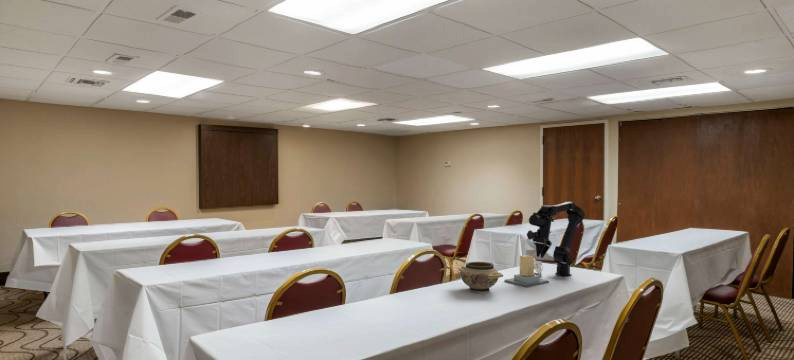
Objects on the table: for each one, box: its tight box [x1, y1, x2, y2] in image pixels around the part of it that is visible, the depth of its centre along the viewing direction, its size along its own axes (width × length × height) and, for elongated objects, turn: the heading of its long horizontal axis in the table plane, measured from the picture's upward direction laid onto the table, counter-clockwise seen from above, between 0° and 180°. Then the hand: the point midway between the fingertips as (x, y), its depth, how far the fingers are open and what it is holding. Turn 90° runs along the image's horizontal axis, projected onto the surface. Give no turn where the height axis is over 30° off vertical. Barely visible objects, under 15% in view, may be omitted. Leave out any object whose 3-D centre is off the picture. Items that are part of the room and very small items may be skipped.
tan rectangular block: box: [519, 254, 535, 277], centre depth 237 cm, size 5×5×12 cm
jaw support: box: [534, 258, 544, 277], centre depth 256 cm, size 12×9×10 cm
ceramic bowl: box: [457, 261, 504, 294], centre depth 219 cm, size 24×18×15 cm
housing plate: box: [504, 273, 550, 288], centre depth 237 cm, size 18×14×4 cm
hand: (539, 257), depth 244 cm, fingers open, 9 cm apart
